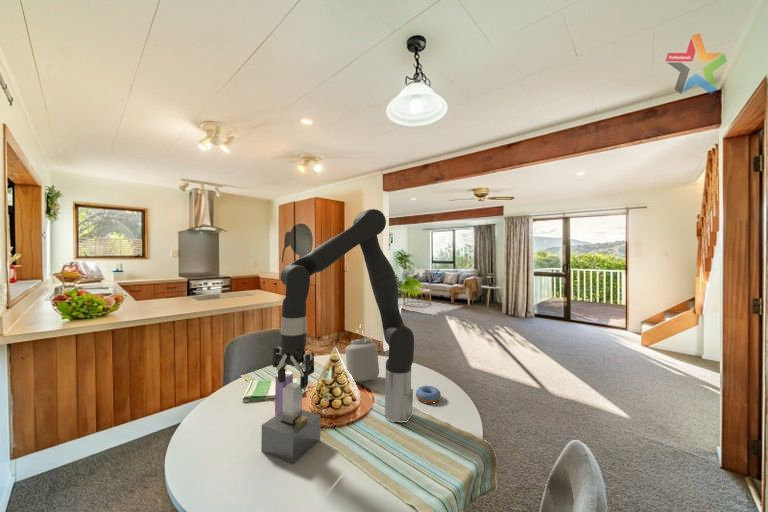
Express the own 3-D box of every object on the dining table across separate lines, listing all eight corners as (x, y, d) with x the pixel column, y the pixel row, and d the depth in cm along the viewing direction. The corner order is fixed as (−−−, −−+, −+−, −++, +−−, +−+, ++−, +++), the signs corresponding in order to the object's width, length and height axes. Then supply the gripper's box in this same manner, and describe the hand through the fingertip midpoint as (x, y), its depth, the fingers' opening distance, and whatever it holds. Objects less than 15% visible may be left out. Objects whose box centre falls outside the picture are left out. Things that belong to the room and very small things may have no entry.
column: (301, 443, 90) (302, 384, 90) (292, 451, 86) (292, 390, 86) (291, 439, 91) (292, 382, 91) (281, 447, 88) (282, 387, 88)
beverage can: (286, 420, 102) (287, 377, 102) (271, 418, 104) (272, 375, 104) (295, 411, 108) (296, 370, 108) (280, 409, 110) (281, 369, 109)
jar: (338, 374, 142) (339, 323, 142) (366, 369, 150) (366, 320, 149) (355, 390, 126) (356, 332, 126) (384, 383, 133) (385, 328, 133)
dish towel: (304, 398, 119) (304, 391, 119) (241, 404, 114) (241, 397, 114) (304, 380, 137) (304, 374, 137) (250, 384, 131) (250, 378, 131)
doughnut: (445, 402, 116) (444, 390, 117) (422, 407, 113) (421, 395, 114) (434, 393, 126) (433, 382, 126) (412, 397, 123) (411, 386, 123)
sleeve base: (320, 440, 92) (320, 411, 91) (292, 465, 81) (293, 432, 81) (290, 430, 97) (291, 402, 97) (261, 452, 86) (261, 420, 86)
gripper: (320, 331, 89) (319, 384, 89) (285, 325, 95) (283, 375, 95) (303, 337, 82) (302, 395, 82) (266, 330, 88) (265, 384, 88)
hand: (292, 384), depth 89 cm, fingers open, 8 cm apart
